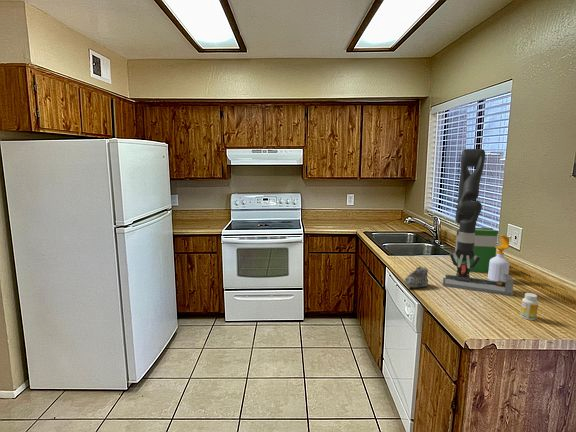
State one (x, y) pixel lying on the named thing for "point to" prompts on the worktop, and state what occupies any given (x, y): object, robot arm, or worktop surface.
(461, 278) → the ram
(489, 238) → the hardback book
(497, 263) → the soap bottle
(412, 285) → the mineral rock
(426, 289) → the worktop surface
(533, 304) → the supplement bottle
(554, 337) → the worktop surface
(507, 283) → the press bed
